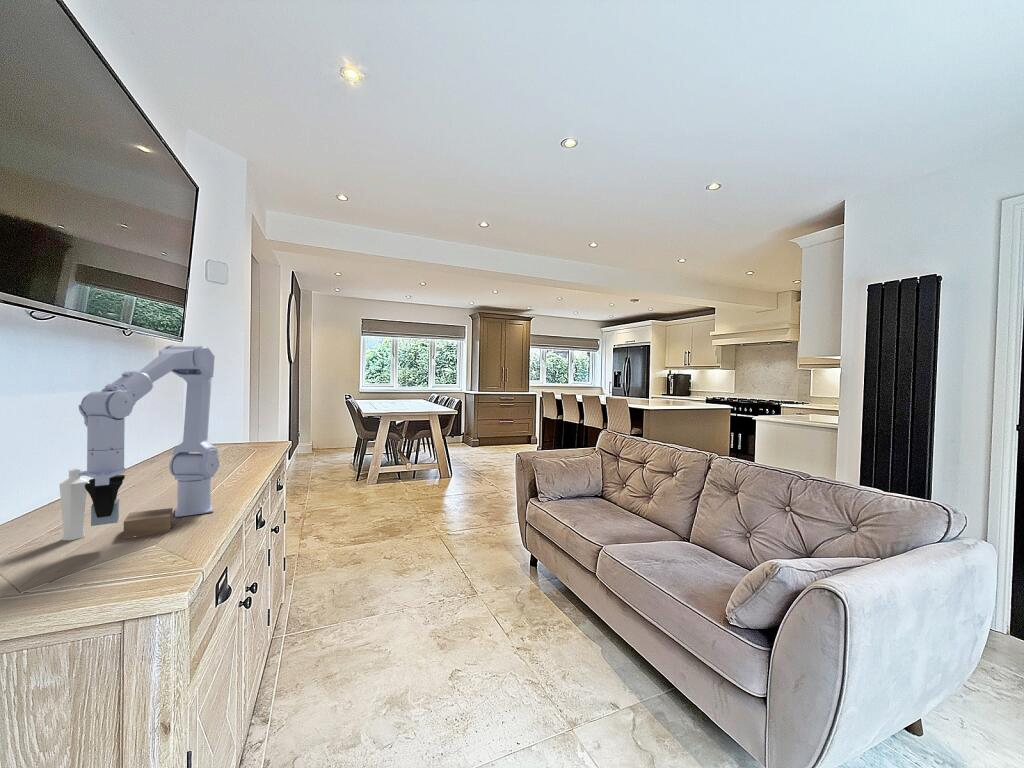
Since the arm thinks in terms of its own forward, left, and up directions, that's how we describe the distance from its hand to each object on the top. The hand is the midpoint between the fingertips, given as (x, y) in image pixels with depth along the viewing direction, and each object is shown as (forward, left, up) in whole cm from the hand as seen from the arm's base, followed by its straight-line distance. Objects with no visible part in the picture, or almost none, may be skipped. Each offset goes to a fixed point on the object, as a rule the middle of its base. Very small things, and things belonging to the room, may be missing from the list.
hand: (105, 513), depth 92 cm
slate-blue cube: (0, 0, -2) cm, 2 cm away
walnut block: (-8, +7, -7) cm, 13 cm away
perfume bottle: (-11, -6, -7) cm, 15 cm away
